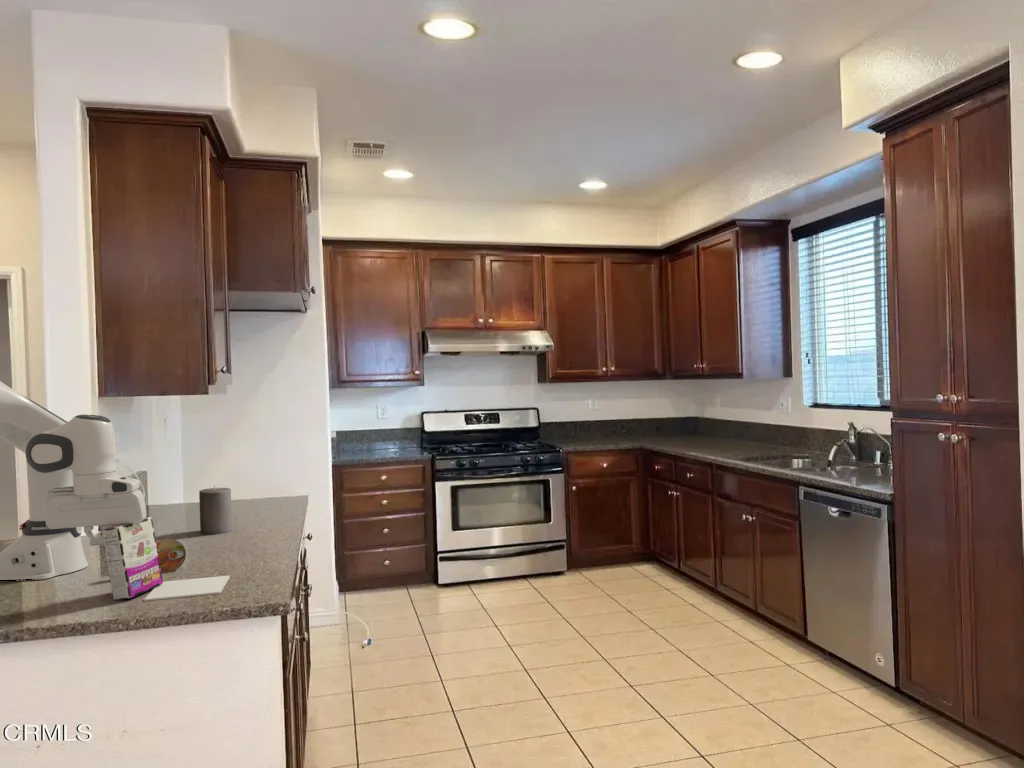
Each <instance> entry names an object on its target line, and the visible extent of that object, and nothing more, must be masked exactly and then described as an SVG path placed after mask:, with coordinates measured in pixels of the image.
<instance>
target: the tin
mask: <svg viewBox="0 0 1024 768" xmlns="http://www.w3.org/2000/svg"><path fill="white" fill-rule="evenodd" d="M156 545H157V551H158V556H159V562H160V568H161V574H166V573H171V572H174V571H176V570H179V568H180V567H182V566H183V564H184V563H185V560H186V556H187V551H186V547H185V546H184V545H183V543H181V542H180V541H178V540H176V539H172V538H166V539H160V540H156Z"/></svg>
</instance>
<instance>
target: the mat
mask: <svg viewBox="0 0 1024 768" xmlns="http://www.w3.org/2000/svg"><path fill="white" fill-rule="evenodd" d="M230 577H231V575H229V574H228V575H222V576H221V575H220V576H209V577H198V578H188V579H177V580H167V581H163V583H162V584H161V585H158V586H156V587H154V588H152V589H151V591H150V592H149V593H148V594H147V595H146V596H145V598H144V599H143V602H147V601H158V600H159V601H161V600H167V599H179V598H187V597H190V598H191V597H198V596H200V597H201V596H207V595H217V594H218V595H219V594H221V593H222V591H223V590H224V588H225V586H226V585H227V583H228V580H229V579H230Z"/></svg>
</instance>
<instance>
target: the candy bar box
mask: <svg viewBox="0 0 1024 768" xmlns="http://www.w3.org/2000/svg"><path fill="white" fill-rule="evenodd" d="M154 527H155V526H154V522H153V517H152V516H151V517H150V516H149V517H147V516H146V517H145V519H144V520H143V521H141V522H139V523H127V524H115V525H114V526H113V525H112V526H111V527H110V528H107V529H104V530H102V529H101V536H102V537H103V542H104V545H103V547H104V553H105V559H106V564H107V571H108V577H109V581H110V588H111V593H112V598H113V600H114V601H118V600H126V599H132V598H134V597H136V596H138V595H141V594H143V593H145V592H147V591H150V590H153V589H154V588H155V587H156V586H158V585H161V584H162V583H163V582H164V580H163V575H162V574H163V573H161V568H160V562H159V556H158V551H157V545H156V541H157V539H156V534H155V529H154Z"/></svg>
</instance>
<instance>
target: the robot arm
mask: <svg viewBox="0 0 1024 768" xmlns="http://www.w3.org/2000/svg"><path fill="white" fill-rule="evenodd" d="M0 439H2V440H3V441H4V442H7V443H8V444H10V445H12V446H13V447H15V448H16V449H18V450H20V451H21V452H22V453H24V454H25V461H26V477H27V492H28V493H27V494H28V515H29V516H28V517H29V519H27V520H25V521H24V522H23V523H22V524H20V525H19V526H18V527H19V529H18V530H19V531H20V530H21V533H22V534H21V535H19V537H17V538H16V539H15V540H14V541H13V542H12V543H10V544H9V545H7V546H6V547H5V548H4V549H3V550H2V551H0V580H8V579H9V580H10V579H21V580H20V581H26V580H25V579H32V580H31V581H33V579H34V580H36V581H37V580H45V579H49V578H53V577H56V576H61V575H66V574H70V573H73V572H77V571H80V570H82V569H85V568H86V567H88V566H89V563H88V561H87V559H86V555H85V551H84V549H83V543H82V537H81V535H82V531H83V532H84V534H85V535H86V536H87V537H88V538H89V545H90V546H92V547H93V546H104V542H103V537H102V535H99V536H98V535H97V536H96V535H95V534H94V532H93V530H94V527H96V526H101V530H104V529H107V528H110V527H112V526H113V525H114V526H115V525H119V524H127V523H139V522H141V521H143V520H144V519H145V518H147V504H146V501H145V496H144V494H143V492H142V491H141V490H139V488H140V486H141V481H140V480H139V479H137V478H132V477H130V476H129V477H128V476H124V475H120V474H118V467H117V464H116V461H115V457H116V454H117V445H116V435H115V428H114V424H113V423H112V421H111V420H110V418H108V417H106V416H103V415H97V414H78V415H75V416H74V417H72V418H71V419H70V420H69V421H67V420H65V419H63V418H61V417H60V416H59V415H57V414H56V413H54V412H52V411H50V410H48V409H47V408H45V407H44V406H42V405H40V404H39V403H37V402H36V401H33V400H32V399H30V398H28V397H27V396H24V395H23V394H21V393H19V392H18V391H17V390H15V389H13V388H12V387H9V386H8V385H7V384H5V383H4V382H2V381H1V380H0ZM82 529H83V530H82ZM23 579H24V580H23Z"/></svg>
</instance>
